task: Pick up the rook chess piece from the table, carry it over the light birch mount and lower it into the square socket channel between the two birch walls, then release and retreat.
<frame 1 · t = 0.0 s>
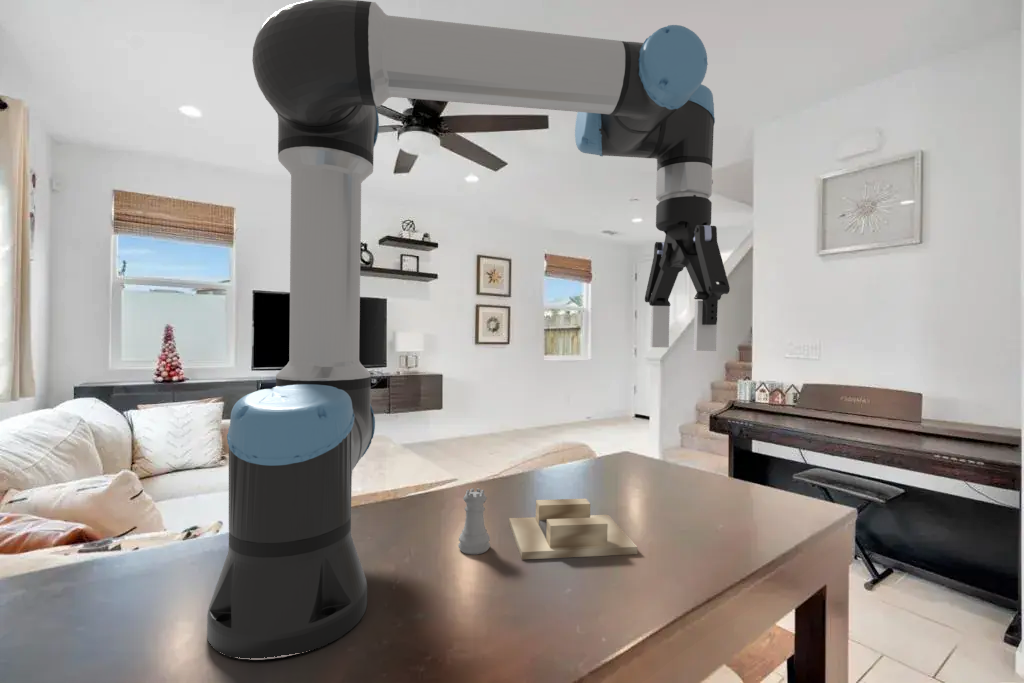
hand: (680, 349, 72), 28 cm above the table, fingers open, 13 cm apart
birch mount: (569, 538, 73), on the table
rook chess piece: (474, 550, 69), on the table
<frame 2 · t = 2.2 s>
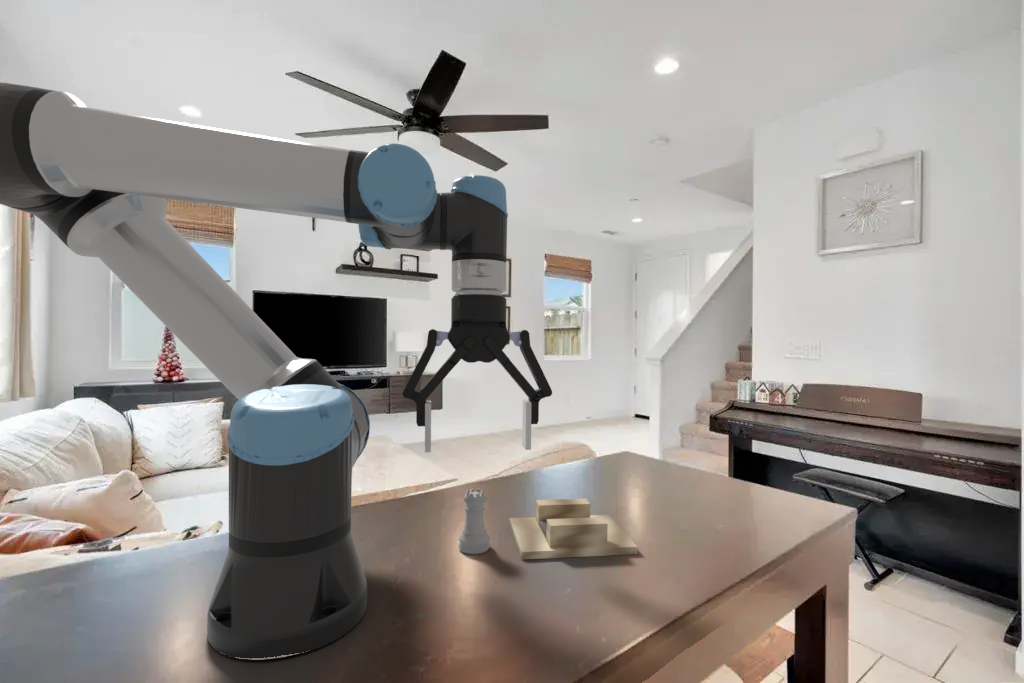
hand: (478, 449, 68), 14 cm above the table, fingers open, 13 cm apart
nothing on the table moved.
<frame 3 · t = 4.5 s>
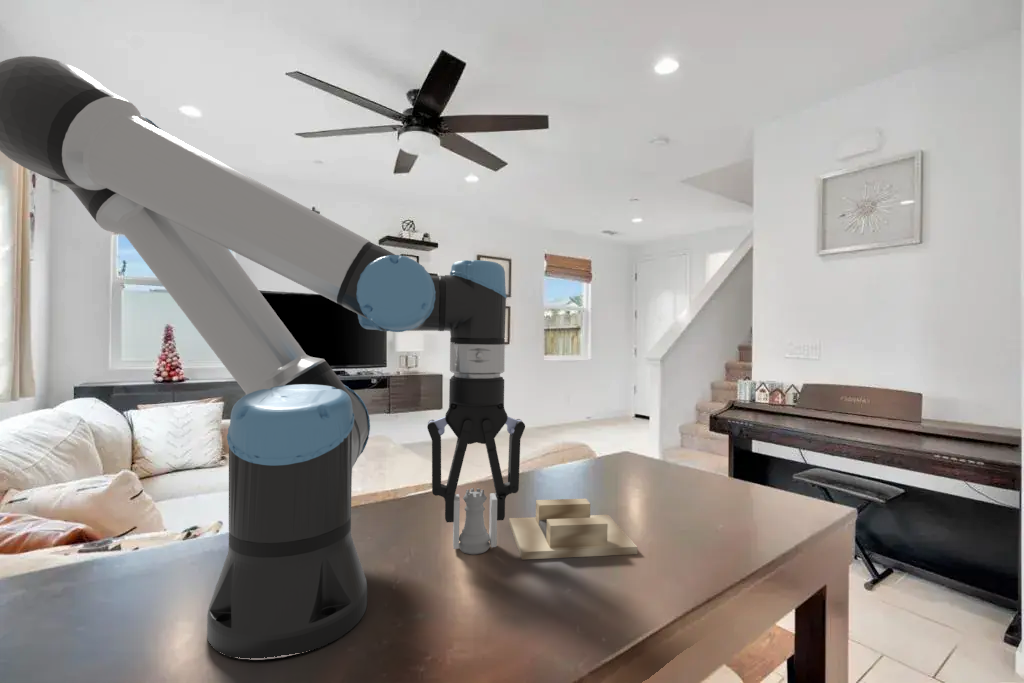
hand: (474, 543, 69), 1 cm above the table, fingers closed on rook chess piece, 4 cm apart
rook chess piece: (474, 549, 69), on the table, touching gripper
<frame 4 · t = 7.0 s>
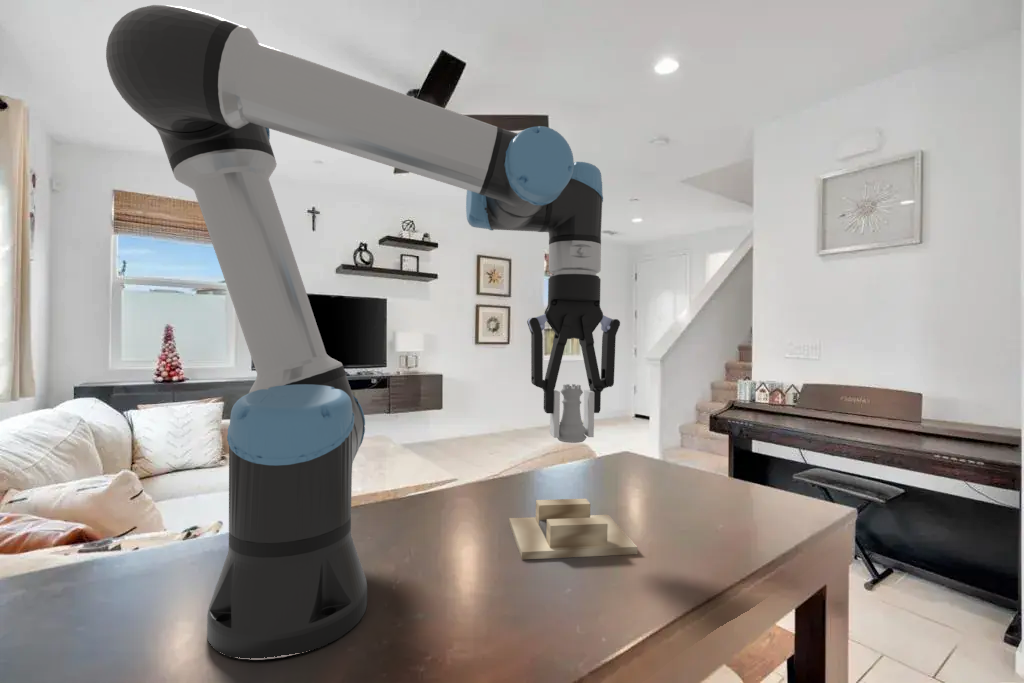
hand: (571, 435, 72), 15 cm above the table, fingers closed on rook chess piece, 4 cm apart
rook chess piece: (571, 441, 72), point 14 cm above the table, touching gripper
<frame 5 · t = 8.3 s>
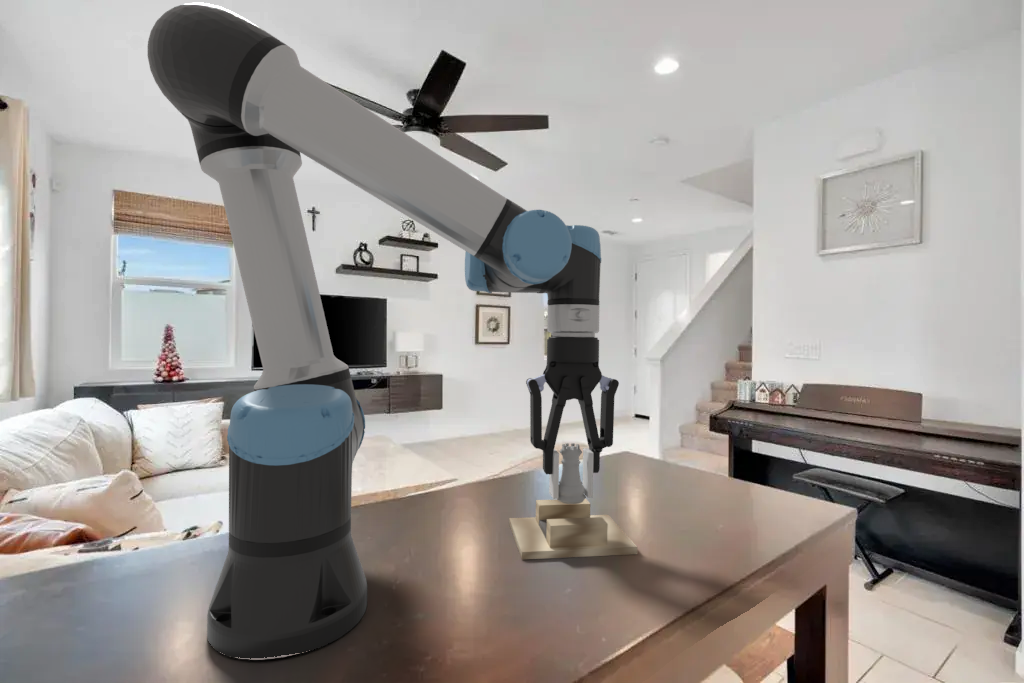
hand: (570, 494, 72), 6 cm above the table, fingers closed on rook chess piece, 4 cm apart
rook chess piece: (570, 500, 72), point 5 cm above the table, touching gripper
when the fingers open (4 cm above the table, at t = 9.5 s): rook chess piece drops 2 cm, resting on birch mount.
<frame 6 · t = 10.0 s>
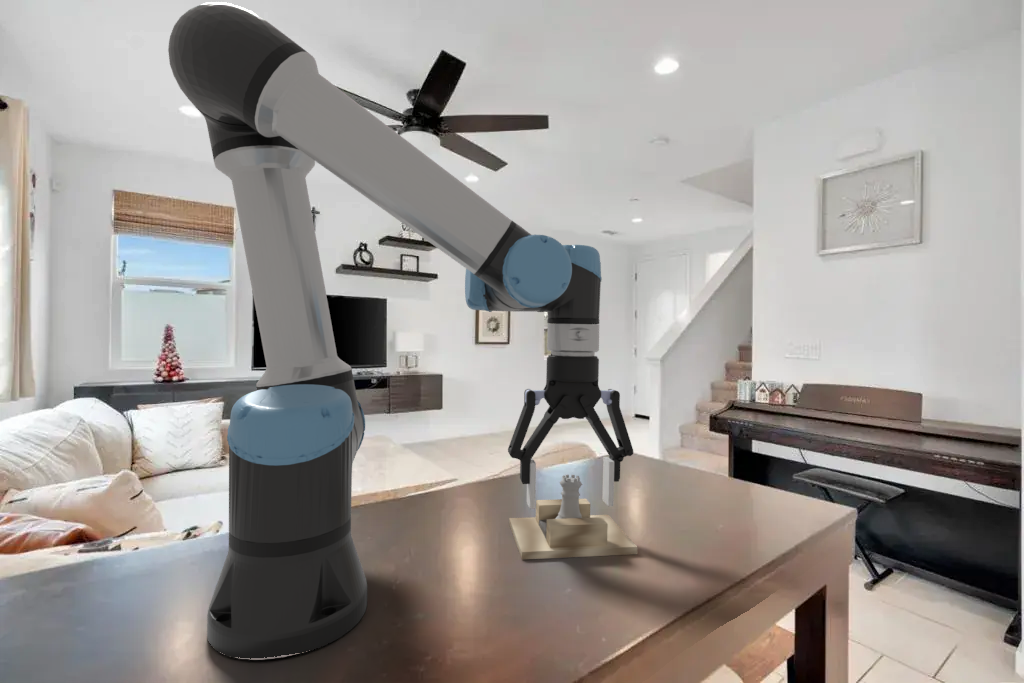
hand: (569, 504, 72), 5 cm above the table, fingers open, 11 cm apart
rook chess piece: (569, 532, 73), point 1 cm above the table, touching birch mount
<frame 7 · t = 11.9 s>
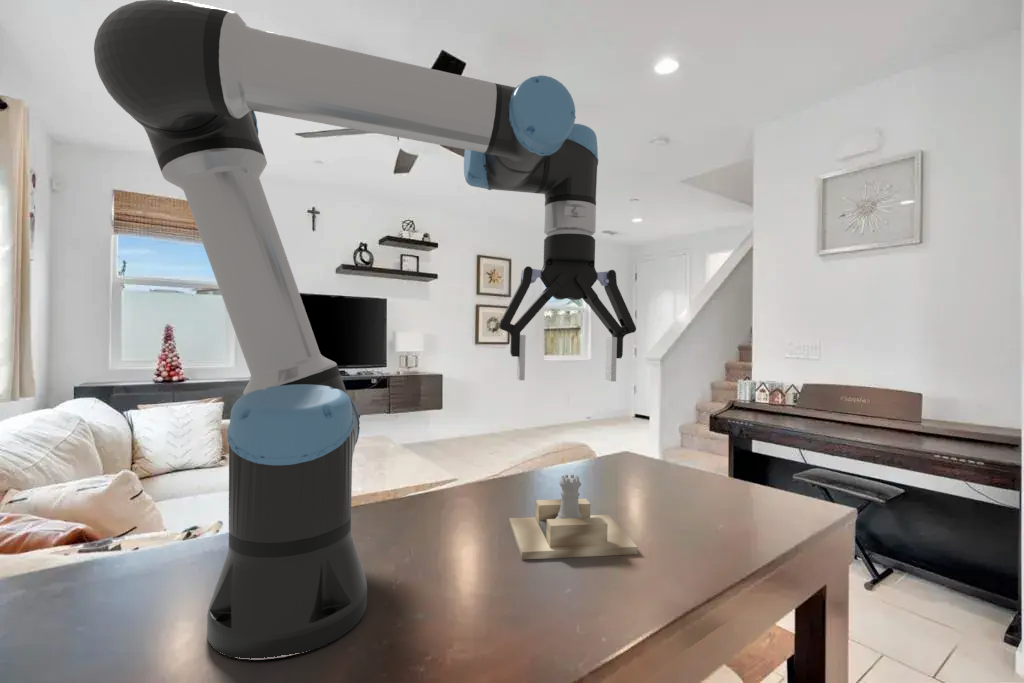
hand: (566, 380, 74), 23 cm above the table, fingers open, 13 cm apart
nothing on the table moved.
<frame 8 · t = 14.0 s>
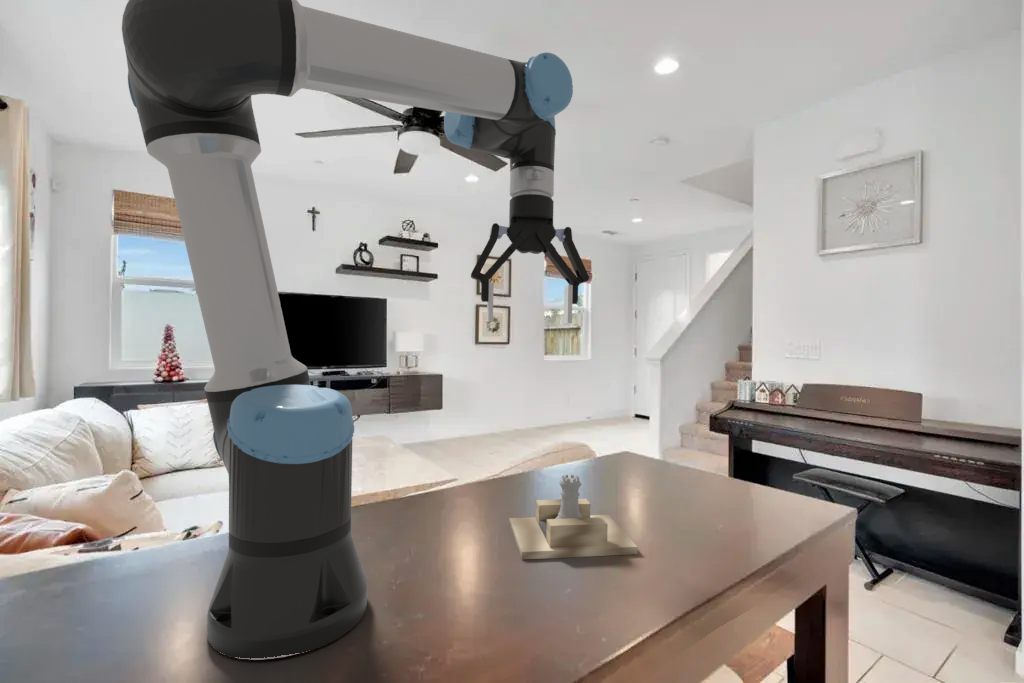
hand: (529, 322, 85), 32 cm above the table, fingers open, 13 cm apart
nothing on the table moved.
at the end: rook chess piece 0.0 cm off-centre on the birch mount, point 0.8 cm above the birch mount's base; rook chess piece tilted 0°; the gripper is holding nothing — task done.
